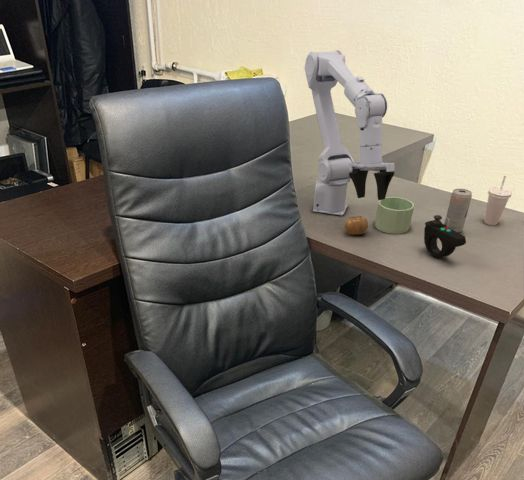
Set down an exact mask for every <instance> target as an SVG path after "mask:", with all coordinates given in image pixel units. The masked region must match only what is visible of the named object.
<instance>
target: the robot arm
mask: <svg viewBox="0 0 524 480" xmlns="http://www.w3.org/2000/svg"><path fill="white" fill-rule="evenodd" d="M304 63H305V64H304V73H305V77H306V82H307V86H308V88H309V89H310V90H311V94H312V99H313V100H312V101H313V104H314V108H315V114H316V118H317V122H318V128H319V132H320V137H321V141H322V145H323V151H322V152H321V154H320V155H319V156H318V158H317V165H318V169H317V173H318V176H319V178H318V179H317V180H316V183H315V187H314V195H313V208H312V212H314V213H320V214H328V215H334V216H340V217H341V216H344V215H345V212H346V211H347V208H348V204H346V199H347V198H346V197H347V189H348V183H350V182H351V181H352V183H353V185H354V189H355V192H356V196H357V199H361V198H365V196H366V184H367V179H368V178H367V177H368V174H369V172H371V171H372V172H374V173H373V176H374V179H375V183H376V194H377V195H376V197H377V200H378V201H379V200H383V199H385V197H387V193H388V189H389V186H390V184H391V181H392V179H393V178H394V176H395V162H386V161H383V118H384V117H385V116H386V115H387V111H388V100H387V98H386V96H385V94H384V93H381V92H380V93H377V92H374V90H373V89H372V88H371V87H370V86H369V85H368V84H367V83H366V82H365V78H364V77H362V76H355V75H354V74H353V73H352V71H351V70H350V68H349V67H348V65H347V64H346V56H345V55H344V54H343V52H342V51H341V50H334V51H333V50H332V51H331V50H329V51H310V52H308V54H307V55H306V59H305V62H304ZM338 83H339V84H340V85H341V86H342V87H343V94H344V96H345V97H346V98H347V100H348V101H349V102H350V103H351V104H352V106H353V107H354V115H355V117H356V120H357V126H358V128H359V161H354V158H353V157H352V153H351V150H349V149H348V148H346V147H345V146H344V145H342V140H341V135H340V131H339V130H340V129H339V125H338V121H337V117H336V112H335V107H334V102H333V99H332V98H333V97H332V93H331V90H332V89H333V88H334V87H336V86H337V84H338Z"/></svg>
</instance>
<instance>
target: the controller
mask: <svg viewBox="0 0 524 480" xmlns="http://www.w3.org/2000/svg"><path fill="white" fill-rule="evenodd" d="M442 219H443V216H441V215H439V214H435V215H434V216H433V220H427V221H425V223H424V225H425V226H424V229H423V230H424V232H423V243H424V246H425V249H426V251H427V252H428V253H429V254H430V255H431V256H433V257H435V258H440V259H441V258H445V257H448V256H451V255H452V254H453V253H454V252H455V250H456V249H457V247H458V248H459V247H462V246H464V245H466V243H467V240H466V236H465V235H463V234H462V233H461V234H459V233H458V232H456V231H454V230H452V229H450V228H449V227H448V226H446V225H444V223H443V222H442V221H441V220H442ZM438 240H439V241H440V243H441V249H440V248H439V246H438Z"/></svg>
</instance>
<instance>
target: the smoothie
mask: <svg viewBox="0 0 524 480" xmlns="http://www.w3.org/2000/svg"><path fill="white" fill-rule="evenodd" d="M506 178H507V175H503V177H502V180H501V184H500V187H490V188H489V189H488V191H487V194H488V197H487V202H486V209H485V214H484V215H485V216H484V224H486V225H489V226H497V225H498V224H499V221H500V220H501V216H502V214H503V213H504V210H505V208H506V206H507V203H508V202H509V200H510V198H511V197H512V194H513V193H512V191H511V190H509V189H508V188H504V184H505V182H506Z"/></svg>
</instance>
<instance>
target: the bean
mask: <svg viewBox="0 0 524 480" xmlns="http://www.w3.org/2000/svg"><path fill="white" fill-rule="evenodd" d="M343 225H344V226H343V227H344V230H345V232H346V233H347V234H349V235H353V236H354V235H355V236H356V235H362V234H364V233H366V231H367V230H368V228H369V222H368V219H367V218H366V217H364V216H363V215H354V216H350V217H348V218H347V219H346V220H345V222H344V224H343Z"/></svg>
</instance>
